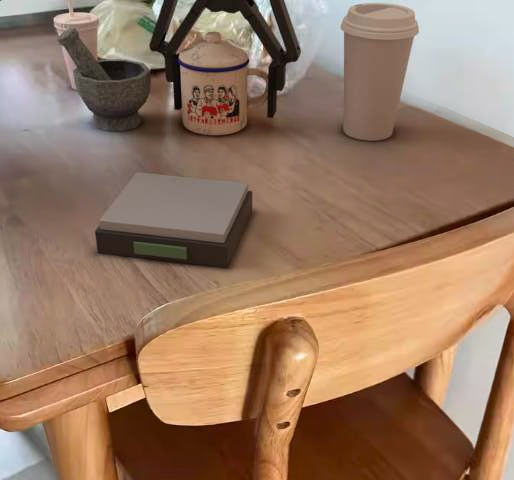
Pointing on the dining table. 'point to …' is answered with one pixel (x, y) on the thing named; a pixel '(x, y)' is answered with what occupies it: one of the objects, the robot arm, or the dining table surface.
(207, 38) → the teacup with lid
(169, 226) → the scale
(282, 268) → the dining table surface
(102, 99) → the mortar and pestle
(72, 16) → the smoothie
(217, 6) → the robot arm
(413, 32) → the coffee cup
